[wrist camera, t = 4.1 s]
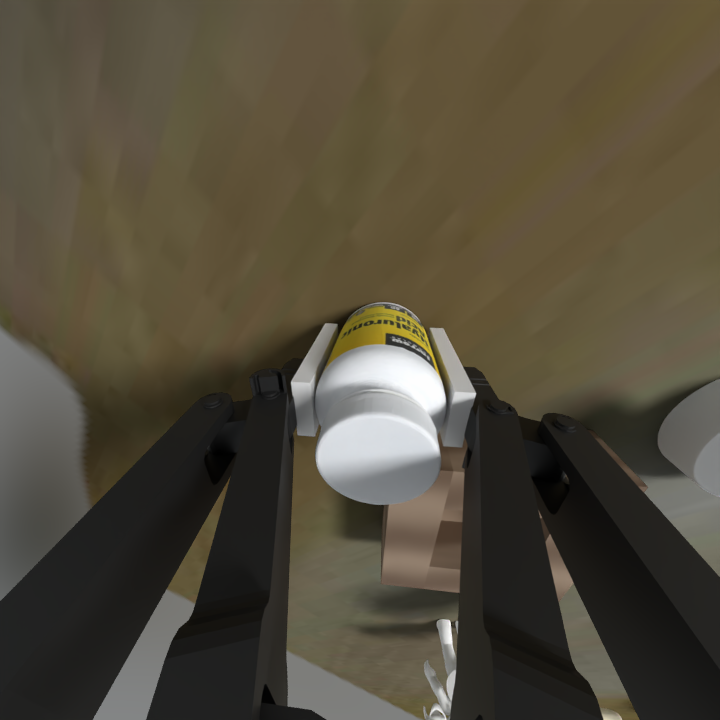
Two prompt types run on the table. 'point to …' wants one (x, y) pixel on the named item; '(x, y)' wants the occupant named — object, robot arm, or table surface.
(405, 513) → the well block
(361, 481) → the supplement bottle
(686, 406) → the white tilted tube stand
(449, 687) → the hat wearing toy figure
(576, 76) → the table surface
